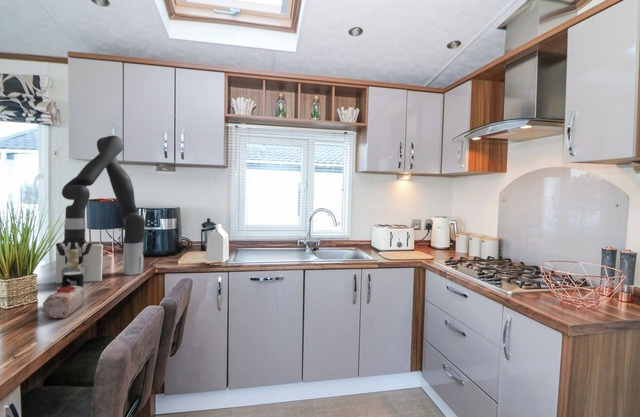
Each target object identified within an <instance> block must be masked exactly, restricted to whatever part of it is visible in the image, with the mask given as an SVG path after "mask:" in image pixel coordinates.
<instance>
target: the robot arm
mask: <svg viewBox="0 0 640 417" xmlns="http://www.w3.org/2000/svg"><path fill="white" fill-rule="evenodd" d="M96 147H97V151H98V154H97V155H96V156H95V157H93V158H92V159H91V160H90V161H89V162H87V164H85V165H84V166H83V167H82V169H81V170H80V172H79V173H78V174H77V176H75V177H74V178H72V179H71V180H70V181H68V182H67V183H66V184H65V185H64V186H63V187H62V189H61V195H62V197H63V198H64V199H65V200H69V201H73V202H72V204H70V205H67V206H66V208H65V220H64V225H63V227H64V231H63V232H64V234H63V238H64V239H63V241H61V242H57V243H56V244H55V246H56V247H57V249H58V251H59V254H60V255H61V256H62V255H63V256H65V263H67V249H78V252H79V264H81V263H83V256H84V255H86V254H88V253H89V251H90V249H91V246H92V245H94V244H93V242H92V241H91V242H90V241H87V240H86V218H85V217H86V208H87V206H88V203H89V199H90V196H91V194H90V193H91V192H90V189H89V188H88V187H90V186H92V185H94V183H95V182H96V181H97V180H98V178H99V176H100V175H101V174H102V173H103V171H104V170H105V169H106V172H107V176H108V178H109V181H110V185H111V188H112V190H113V191H112V192H113V194H114V196H115V199H116V201H117V204H118V205H119V208H120V211H121V215H122V216H121V217H122V223H123V225H124V237H123V245H122V246H123V250H122V253H123V254H122V274H123V275H125V276H130V275H131V276H133V275H141V274H142V273H143V272H144V237H145V231H146V230H145V228H146V222H145V218H144V217H143V215H140V213H139V210H138V209H137V206H136V202H135V191H134V186H133V182H132V179H131V178H130V177H131V176H130V175H129V174H128V173H127V171H125V169H124V168H123V167H122V166H121V165H120V163H119V161H118V157H117V156H118V155H119V154H120V153H121V152H122V151H123V150H124V148H125V144H124V141H123V139H122V138H121V137H119V136H117V135H108V136H104V137H100V138H99V139H97V141H96ZM63 245H65V246H66V247H67V249H66V253H65V251H64V249H63ZM83 245H86V249H85V251H84V253H83V248H82V246H83ZM80 248H81V249H80Z"/></svg>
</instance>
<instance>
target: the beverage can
mask: <svg viewBox="0 0 640 417" xmlns="http://www.w3.org/2000/svg"><path fill="white" fill-rule="evenodd" d="M83 280H84V275H83V274H82V271H71V272H66V273H64V276H63V277H62V283H61V288H63V287H67V286H81V287H83V288H84V282H83Z"/></svg>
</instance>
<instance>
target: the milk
mask: <svg viewBox="0 0 640 417" xmlns="http://www.w3.org/2000/svg"><path fill="white" fill-rule="evenodd" d="M229 240H230V239H229V234H228V233H227V232H226V230H224V229H223V227H222V224H216V225H215V229H213V230H212V231H211V233H210V234H209V235H207V243H206V252H205V261H206V260H207V261H220V262H225V261H226V260H228V259H229V258H230V255H229V254H230V251H229V250H230V247H229V245H230V244H229ZM229 260H230V259H229Z"/></svg>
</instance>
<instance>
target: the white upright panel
mask: <svg viewBox="0 0 640 417" xmlns="http://www.w3.org/2000/svg"><path fill="white" fill-rule="evenodd" d="M82 248H83V253H84V251H85V249H86V244H84V245H83V246H82ZM55 249H56V250H55V251H56V252H55V257H56V258H55V282H54V283H55V284H60V283H61V284H62V277H63V276H64V273H66V272H71V271H82V274H83V275H84V280H83V283H85V282H88V283H91V282H101V281H103V257H104V256H103V254H104V252H103V251H104V244H92V246H91V249H90V251H89V253H88V254H86V255H84V256H83V263H81V268H79V269H67V263H65V256H63V255H62V256H61V255H60V254H59V251H58V249H57V247H56V248H55ZM63 249H64V251H65V253H66V249H67V247H66V246H65V245H64V244H63Z"/></svg>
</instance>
